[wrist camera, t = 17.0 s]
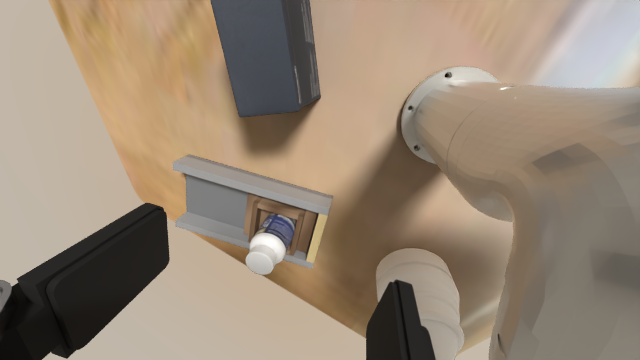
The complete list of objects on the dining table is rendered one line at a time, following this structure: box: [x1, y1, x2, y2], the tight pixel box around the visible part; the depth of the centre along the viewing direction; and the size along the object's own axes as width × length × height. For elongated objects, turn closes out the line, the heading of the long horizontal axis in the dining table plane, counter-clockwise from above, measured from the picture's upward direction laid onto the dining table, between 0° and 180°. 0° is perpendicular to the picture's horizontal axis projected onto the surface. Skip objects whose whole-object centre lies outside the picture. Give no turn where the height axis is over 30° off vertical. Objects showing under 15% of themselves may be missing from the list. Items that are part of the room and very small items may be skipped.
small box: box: [211, 0, 321, 117], centre depth 27 cm, size 13×7×12 cm, turn 7°
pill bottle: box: [246, 212, 296, 275], centre depth 36 cm, size 5×5×10 cm
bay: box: [173, 154, 333, 269], centre depth 42 cm, size 26×13×4 cm, turn 77°
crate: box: [243, 192, 318, 256], centre depth 41 cm, size 12×9×4 cm
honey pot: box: [376, 248, 464, 360], centre depth 36 cm, size 13×13×18 cm
